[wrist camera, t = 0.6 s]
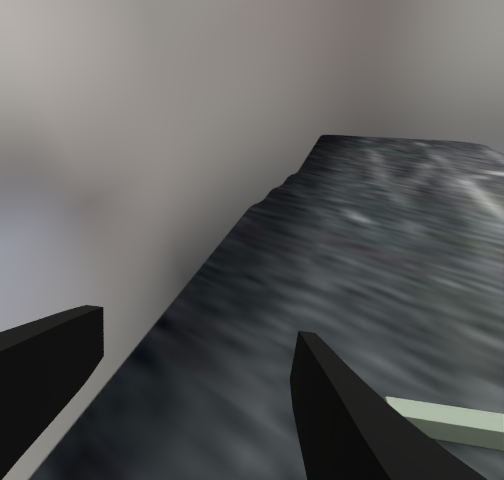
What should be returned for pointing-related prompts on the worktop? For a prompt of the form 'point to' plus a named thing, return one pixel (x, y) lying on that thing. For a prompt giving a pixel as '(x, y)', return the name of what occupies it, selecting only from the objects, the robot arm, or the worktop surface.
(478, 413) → the pale green rail frame
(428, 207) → the worktop surface
